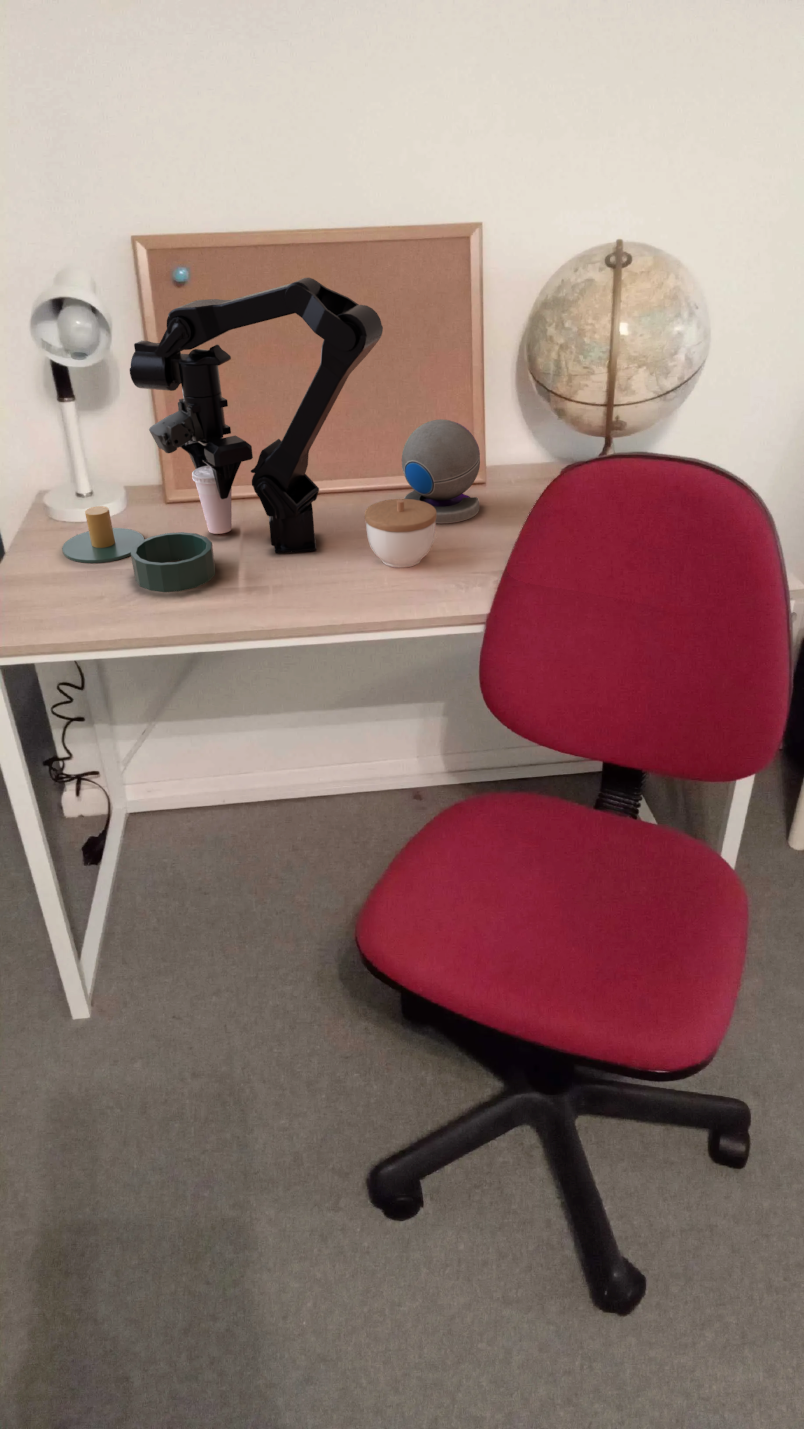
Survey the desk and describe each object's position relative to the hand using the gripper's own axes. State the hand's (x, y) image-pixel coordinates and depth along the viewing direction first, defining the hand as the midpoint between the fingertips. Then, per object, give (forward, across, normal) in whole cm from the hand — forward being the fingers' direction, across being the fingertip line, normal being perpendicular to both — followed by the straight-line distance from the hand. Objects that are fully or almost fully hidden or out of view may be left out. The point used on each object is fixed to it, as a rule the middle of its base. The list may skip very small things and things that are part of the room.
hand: (215, 492), depth 157 cm
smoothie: (+6, 0, 0) cm, 6 cm away
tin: (+7, +11, -12) cm, 18 cm away
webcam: (+8, +12, +35) cm, 38 cm away
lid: (+7, -6, -18) cm, 20 cm away
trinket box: (+8, +25, +18) cm, 32 cm away
